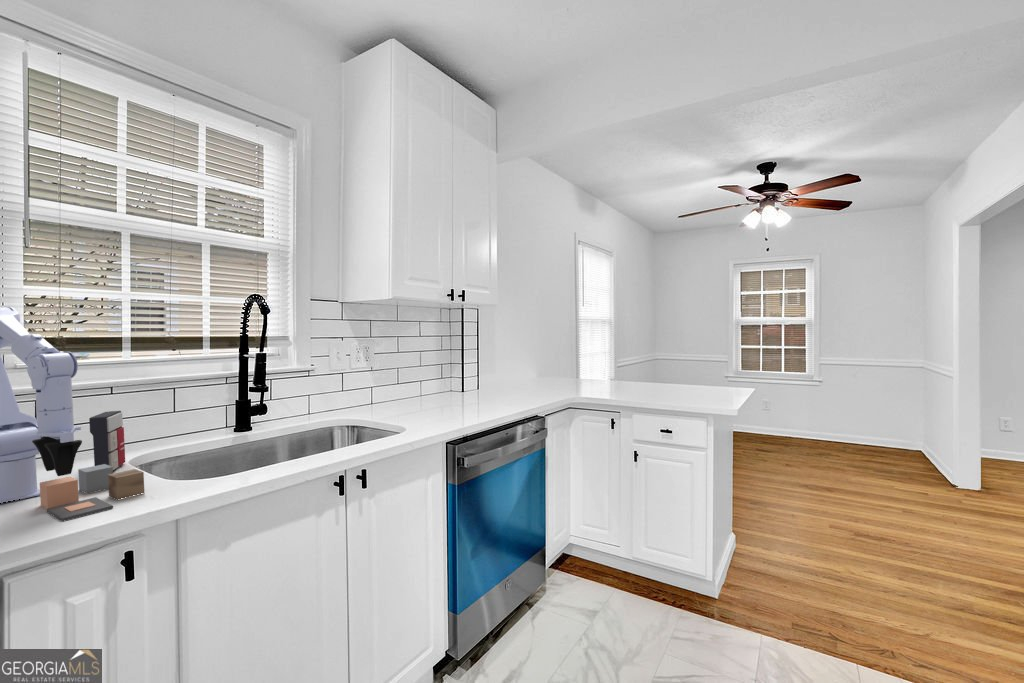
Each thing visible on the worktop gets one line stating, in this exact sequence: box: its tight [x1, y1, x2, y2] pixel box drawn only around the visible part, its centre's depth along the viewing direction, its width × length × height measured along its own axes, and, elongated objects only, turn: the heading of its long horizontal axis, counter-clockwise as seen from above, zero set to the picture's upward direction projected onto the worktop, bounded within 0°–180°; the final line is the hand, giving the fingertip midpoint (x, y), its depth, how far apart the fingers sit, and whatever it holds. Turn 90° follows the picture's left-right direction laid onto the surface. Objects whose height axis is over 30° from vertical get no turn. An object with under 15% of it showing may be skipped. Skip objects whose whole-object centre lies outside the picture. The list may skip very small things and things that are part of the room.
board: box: [46, 496, 114, 522], centre depth 103 cm, size 10×8×1 cm
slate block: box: [77, 464, 114, 494], centre depth 117 cm, size 5×5×5 cm
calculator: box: [88, 410, 126, 471], centre depth 133 cm, size 11×4×15 cm, turn 22°
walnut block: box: [108, 468, 145, 501], centre depth 112 cm, size 5×5×5 cm
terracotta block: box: [39, 476, 80, 510], centre depth 107 cm, size 5×5×5 cm
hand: (58, 472), depth 107 cm, fingers open, 7 cm apart
